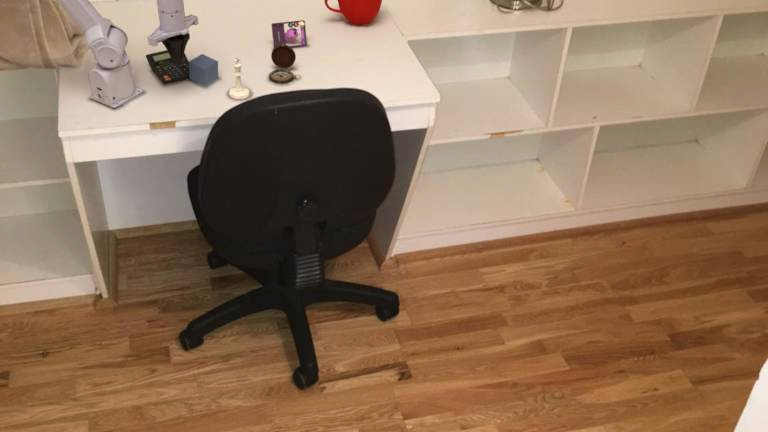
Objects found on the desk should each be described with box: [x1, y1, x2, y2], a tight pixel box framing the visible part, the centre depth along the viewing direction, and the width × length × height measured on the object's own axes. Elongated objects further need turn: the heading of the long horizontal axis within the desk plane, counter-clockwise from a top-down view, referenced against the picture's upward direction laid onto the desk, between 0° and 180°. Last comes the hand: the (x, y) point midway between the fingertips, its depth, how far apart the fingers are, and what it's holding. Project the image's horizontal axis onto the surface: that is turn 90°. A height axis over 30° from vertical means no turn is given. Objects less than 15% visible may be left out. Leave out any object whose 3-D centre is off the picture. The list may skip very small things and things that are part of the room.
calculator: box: [145, 49, 190, 86], centre depth 197 cm, size 9×12×3 cm
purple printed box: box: [270, 19, 308, 49], centre depth 212 cm, size 7×5×9 cm
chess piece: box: [228, 56, 250, 100], centre depth 188 cm, size 5×5×10 cm
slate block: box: [188, 53, 219, 87], centre depth 194 cm, size 5×5×5 cm
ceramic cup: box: [324, 0, 383, 27], centre depth 222 cm, size 13×17×10 cm
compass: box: [268, 44, 302, 85], centre depth 197 cm, size 8×8×7 cm
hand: (177, 62), depth 185 cm, fingers closed
